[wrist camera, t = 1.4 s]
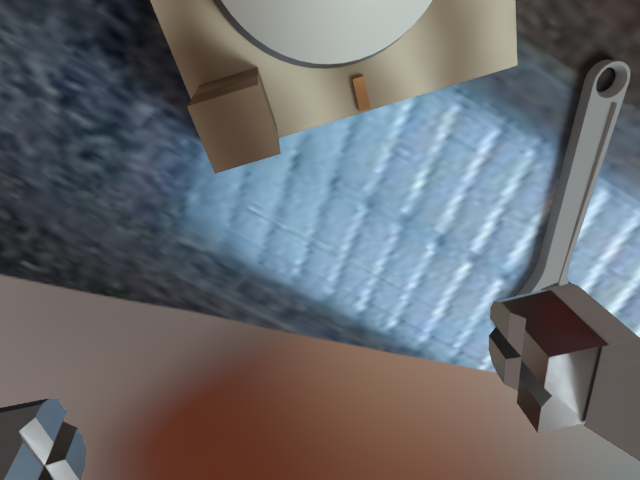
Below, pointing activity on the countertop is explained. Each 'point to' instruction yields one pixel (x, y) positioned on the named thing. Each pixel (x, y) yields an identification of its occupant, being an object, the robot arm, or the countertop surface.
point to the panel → (343, 78)
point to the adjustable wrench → (578, 174)
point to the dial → (326, 26)
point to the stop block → (235, 120)
